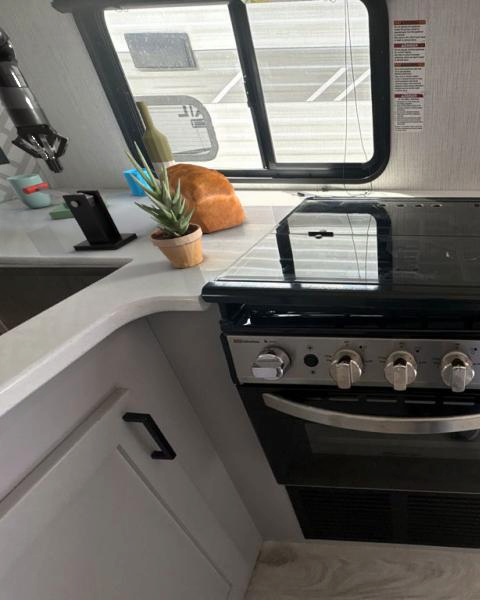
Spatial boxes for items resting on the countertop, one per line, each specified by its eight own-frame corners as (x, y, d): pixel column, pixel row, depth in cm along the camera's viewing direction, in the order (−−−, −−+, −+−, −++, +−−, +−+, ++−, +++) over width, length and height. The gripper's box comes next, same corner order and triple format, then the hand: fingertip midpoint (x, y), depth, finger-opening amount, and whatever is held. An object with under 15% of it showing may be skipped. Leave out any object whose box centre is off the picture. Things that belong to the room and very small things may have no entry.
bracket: (75, 250, 80) (43, 198, 73) (99, 238, 87) (72, 188, 80) (116, 249, 80) (88, 196, 74) (137, 237, 87) (113, 187, 80)
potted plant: (157, 263, 73) (99, 141, 60) (201, 249, 79) (158, 136, 66) (173, 277, 67) (114, 145, 54) (219, 261, 73) (176, 139, 60)
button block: (53, 219, 101) (45, 206, 99) (63, 211, 109) (56, 198, 107) (100, 213, 106) (94, 200, 104) (107, 205, 113) (101, 193, 111)
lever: (23, 195, 74) (20, 185, 73) (43, 189, 79) (40, 179, 77) (83, 210, 77) (81, 200, 75) (99, 203, 81) (97, 194, 80)
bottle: (180, 199, 117) (143, 101, 101) (161, 200, 118) (121, 102, 101) (191, 194, 123) (158, 101, 107) (173, 194, 123) (137, 101, 107)
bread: (202, 237, 86) (179, 175, 77) (165, 217, 100) (142, 163, 92) (252, 222, 94) (236, 165, 86) (211, 206, 109) (194, 156, 101)
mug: (133, 192, 128) (123, 170, 123) (157, 189, 132) (148, 167, 127) (133, 199, 119) (122, 175, 115) (159, 195, 123) (150, 172, 119)
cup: (26, 206, 114) (7, 176, 109) (56, 202, 119) (38, 172, 113) (25, 211, 109) (4, 180, 104) (55, 206, 114) (38, 176, 108)
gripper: (58, 105, 97) (89, 168, 106) (-2, 107, 92) (35, 172, 101) (48, 106, 91) (82, 172, 100) (-17, 107, 86) (25, 177, 95)
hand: (58, 172), depth 100 cm, fingers closed
